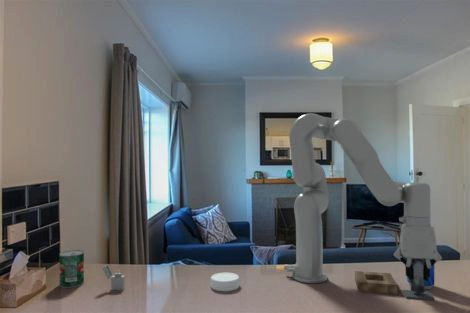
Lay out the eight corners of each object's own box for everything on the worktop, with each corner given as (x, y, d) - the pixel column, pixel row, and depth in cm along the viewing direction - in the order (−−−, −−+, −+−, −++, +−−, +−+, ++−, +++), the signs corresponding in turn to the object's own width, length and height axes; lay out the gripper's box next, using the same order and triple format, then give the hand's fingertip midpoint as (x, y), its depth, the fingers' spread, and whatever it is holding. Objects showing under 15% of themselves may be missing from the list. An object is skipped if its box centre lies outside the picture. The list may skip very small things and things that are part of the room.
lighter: (124, 288, 122) (124, 264, 122) (123, 290, 120) (123, 266, 120) (104, 288, 122) (104, 264, 122) (102, 289, 120) (102, 265, 120)
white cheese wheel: (245, 288, 122) (245, 278, 122) (219, 294, 116) (219, 283, 116) (230, 280, 130) (230, 270, 130) (205, 285, 125) (205, 275, 125)
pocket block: (358, 291, 118) (358, 282, 118) (354, 279, 130) (354, 270, 130) (397, 294, 115) (397, 284, 115) (390, 281, 127) (390, 273, 127)
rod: (412, 292, 112) (412, 260, 112) (409, 287, 116) (409, 256, 116) (426, 293, 111) (426, 261, 112) (422, 288, 115) (422, 257, 115)
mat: (406, 298, 112) (406, 296, 112) (402, 291, 118) (402, 289, 118) (434, 300, 110) (434, 298, 110) (428, 293, 116) (428, 291, 116)
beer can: (438, 291, 118) (437, 242, 118) (410, 289, 120) (410, 241, 120) (429, 282, 126) (429, 236, 126) (404, 280, 128) (403, 235, 128)
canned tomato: (55, 284, 126) (55, 253, 126) (78, 278, 131) (78, 248, 132) (65, 290, 120) (64, 257, 120) (88, 283, 126) (88, 252, 126)
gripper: (391, 222, 112) (391, 281, 112) (450, 224, 108) (451, 285, 108) (386, 218, 120) (387, 273, 120) (442, 220, 116) (442, 277, 116)
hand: (417, 278), depth 114 cm, fingers closed on rod, 4 cm apart
